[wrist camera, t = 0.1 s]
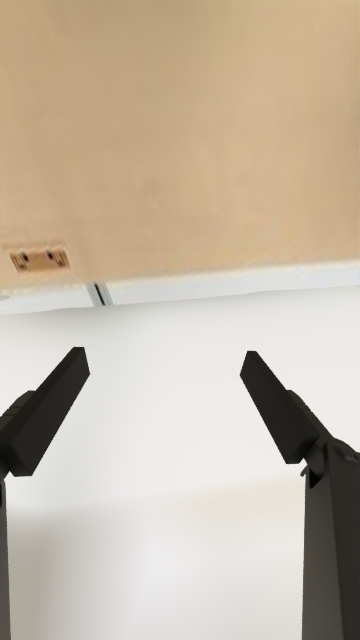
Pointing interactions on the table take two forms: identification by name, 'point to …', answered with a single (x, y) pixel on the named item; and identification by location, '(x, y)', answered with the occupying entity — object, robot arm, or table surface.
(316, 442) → the robot arm
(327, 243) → the table surface
